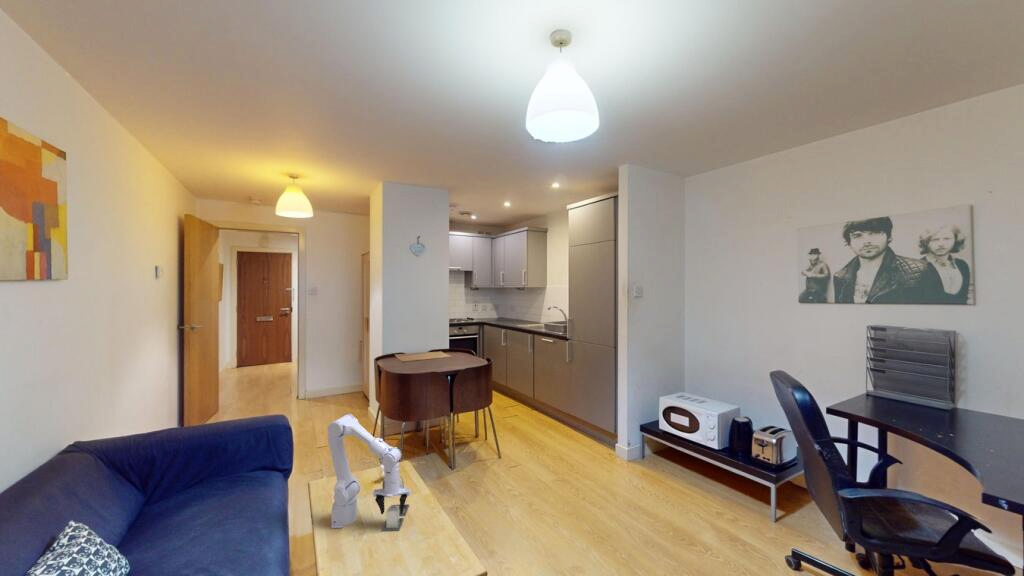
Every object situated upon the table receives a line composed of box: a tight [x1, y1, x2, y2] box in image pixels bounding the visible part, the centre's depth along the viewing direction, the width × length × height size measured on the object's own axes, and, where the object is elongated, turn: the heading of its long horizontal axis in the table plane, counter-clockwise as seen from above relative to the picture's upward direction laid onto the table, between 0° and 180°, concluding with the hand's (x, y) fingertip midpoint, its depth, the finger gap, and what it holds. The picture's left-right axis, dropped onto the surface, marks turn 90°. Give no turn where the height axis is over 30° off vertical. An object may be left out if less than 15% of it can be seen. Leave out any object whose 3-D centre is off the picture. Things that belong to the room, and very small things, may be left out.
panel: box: [380, 503, 410, 532], centre depth 166 cm, size 9×18×2 cm, turn 2°
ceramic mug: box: [382, 475, 405, 489], centre depth 188 cm, size 11×8×8 cm
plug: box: [386, 504, 400, 528], centre depth 161 cm, size 4×4×7 cm
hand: (392, 512), depth 161 cm, fingers open, 7 cm apart
